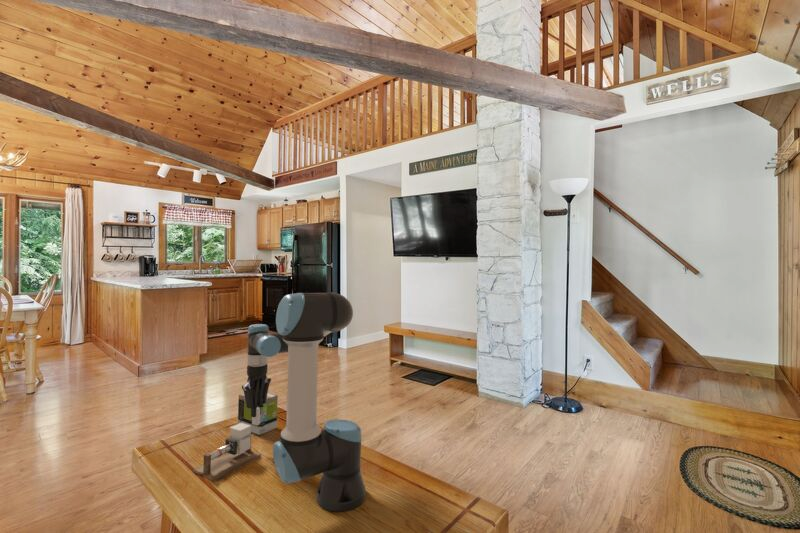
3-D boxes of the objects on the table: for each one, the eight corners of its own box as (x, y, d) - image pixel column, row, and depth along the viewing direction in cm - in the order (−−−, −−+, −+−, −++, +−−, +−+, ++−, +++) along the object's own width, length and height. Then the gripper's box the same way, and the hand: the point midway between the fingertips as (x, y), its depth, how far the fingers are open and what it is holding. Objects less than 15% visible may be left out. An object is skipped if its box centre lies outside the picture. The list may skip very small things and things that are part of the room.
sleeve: (250, 448, 144) (250, 425, 144) (239, 454, 139) (240, 430, 139) (240, 445, 146) (240, 422, 146) (229, 450, 142) (229, 427, 142)
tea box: (277, 427, 170) (278, 394, 170) (258, 436, 161) (259, 401, 161) (256, 419, 178) (256, 388, 178) (236, 427, 169) (237, 394, 169)
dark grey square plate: (236, 453, 139) (237, 441, 139) (234, 455, 138) (234, 442, 138) (228, 450, 141) (228, 438, 141) (225, 451, 140) (225, 439, 140)
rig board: (260, 456, 144) (261, 437, 144) (216, 481, 127) (217, 460, 127) (238, 449, 149) (238, 430, 149) (193, 472, 132) (193, 451, 132)
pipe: (249, 443, 145) (249, 435, 145) (211, 462, 130) (212, 454, 130) (243, 441, 146) (243, 434, 146) (206, 460, 132) (206, 452, 132)
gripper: (263, 359, 157) (261, 416, 157) (236, 366, 145) (235, 428, 145) (276, 361, 153) (275, 420, 154) (251, 369, 142) (249, 432, 142)
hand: (255, 424), depth 150 cm, fingers closed
